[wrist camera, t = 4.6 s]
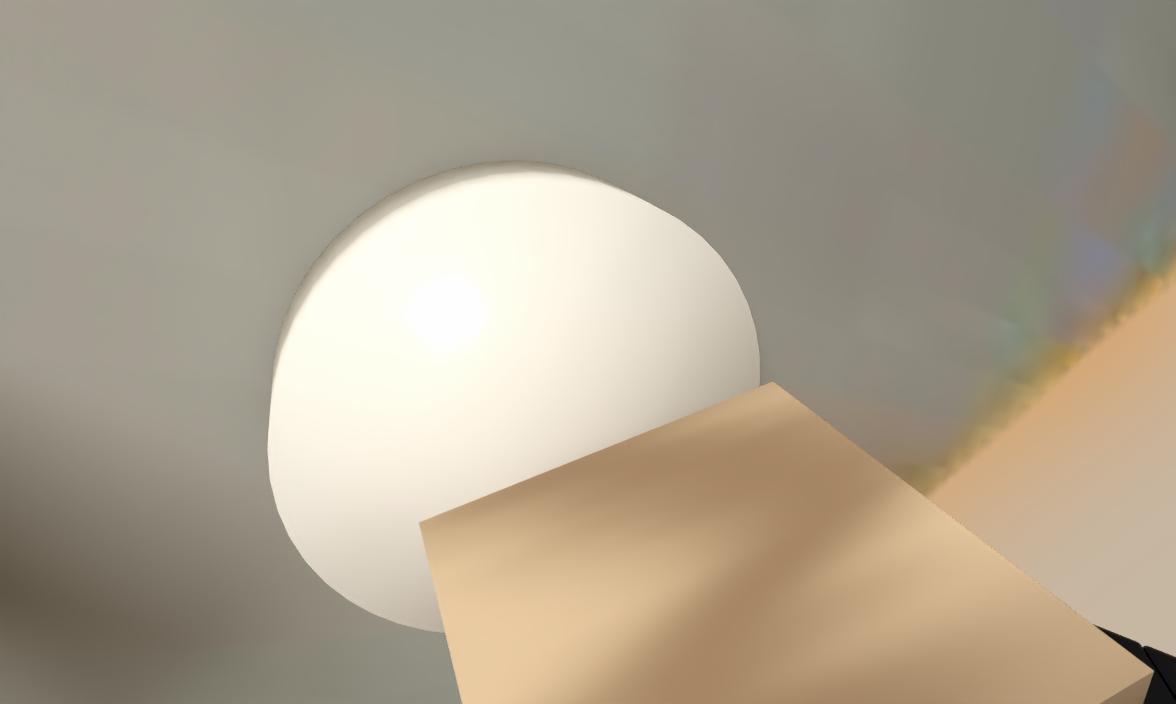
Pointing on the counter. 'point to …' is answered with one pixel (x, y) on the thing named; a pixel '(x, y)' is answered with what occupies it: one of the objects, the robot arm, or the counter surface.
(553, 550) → the beech cube
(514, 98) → the counter surface
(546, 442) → the ceramic stand
